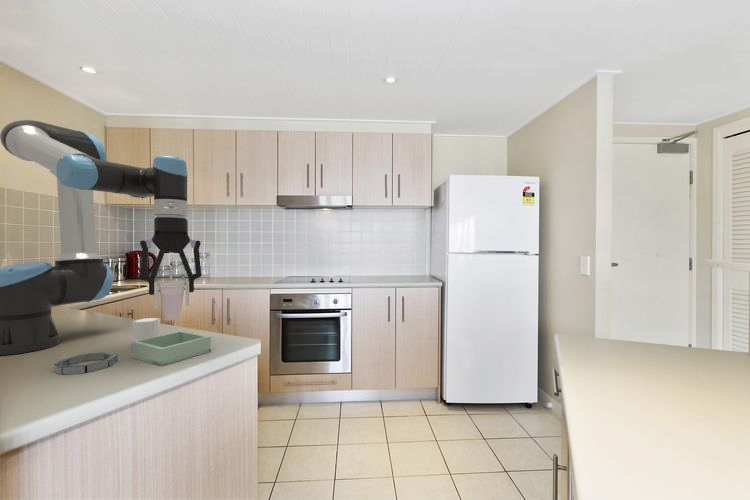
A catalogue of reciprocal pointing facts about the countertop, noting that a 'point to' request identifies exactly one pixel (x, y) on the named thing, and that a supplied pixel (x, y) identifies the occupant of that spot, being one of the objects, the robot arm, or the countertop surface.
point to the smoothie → (171, 298)
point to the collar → (65, 369)
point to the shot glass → (146, 328)
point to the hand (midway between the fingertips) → (172, 306)
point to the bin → (170, 347)
